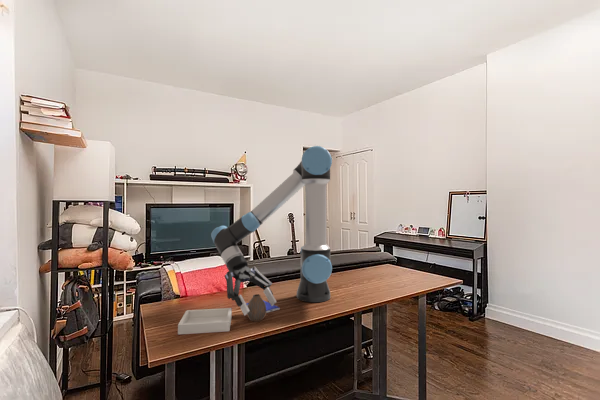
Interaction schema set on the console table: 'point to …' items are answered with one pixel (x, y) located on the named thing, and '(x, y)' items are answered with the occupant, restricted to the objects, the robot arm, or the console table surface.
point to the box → (205, 321)
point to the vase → (256, 308)
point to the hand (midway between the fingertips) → (261, 308)
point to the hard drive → (269, 307)
